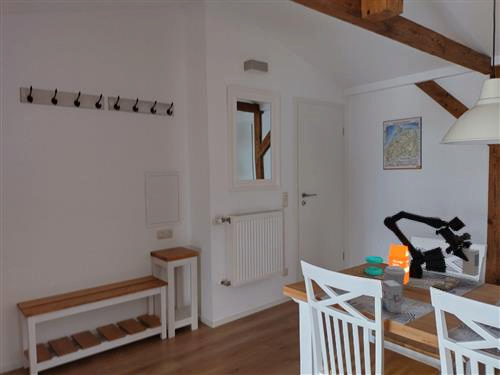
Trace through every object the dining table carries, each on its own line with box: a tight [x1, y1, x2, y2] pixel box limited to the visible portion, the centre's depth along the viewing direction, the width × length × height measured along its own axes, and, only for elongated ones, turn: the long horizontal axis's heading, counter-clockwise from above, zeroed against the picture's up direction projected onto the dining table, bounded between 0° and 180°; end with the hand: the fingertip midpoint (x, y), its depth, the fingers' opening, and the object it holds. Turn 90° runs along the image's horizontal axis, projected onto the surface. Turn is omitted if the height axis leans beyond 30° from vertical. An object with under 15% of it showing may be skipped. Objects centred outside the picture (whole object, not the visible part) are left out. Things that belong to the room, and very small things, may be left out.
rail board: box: [431, 276, 460, 292], centre depth 193 cm, size 14×7×4 cm, turn 125°
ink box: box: [382, 280, 402, 314], centre depth 162 cm, size 9×5×12 cm, turn 5°
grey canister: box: [383, 265, 406, 302], centre depth 175 cm, size 10×10×15 cm
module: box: [461, 248, 480, 277], centre depth 195 cm, size 6×4×13 cm
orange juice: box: [388, 244, 410, 285], centre depth 204 cm, size 8×9×20 cm
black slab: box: [422, 246, 447, 274], centre depth 225 cm, size 4×13×15 cm, turn 47°
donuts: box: [364, 255, 384, 277], centre depth 219 cm, size 10×10×10 cm
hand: (470, 260), depth 195 cm, fingers closed on module, 5 cm apart
